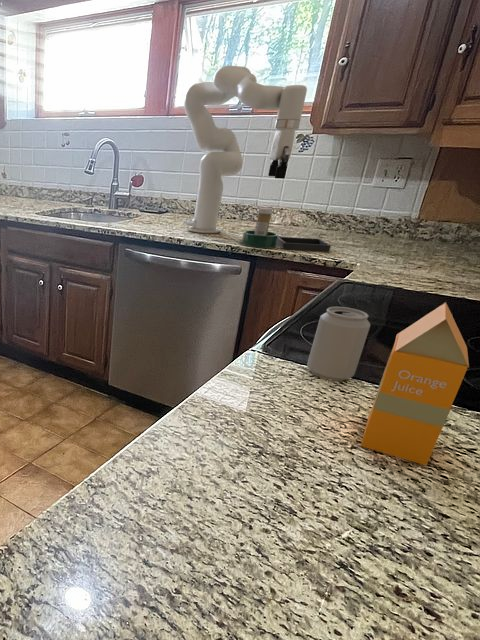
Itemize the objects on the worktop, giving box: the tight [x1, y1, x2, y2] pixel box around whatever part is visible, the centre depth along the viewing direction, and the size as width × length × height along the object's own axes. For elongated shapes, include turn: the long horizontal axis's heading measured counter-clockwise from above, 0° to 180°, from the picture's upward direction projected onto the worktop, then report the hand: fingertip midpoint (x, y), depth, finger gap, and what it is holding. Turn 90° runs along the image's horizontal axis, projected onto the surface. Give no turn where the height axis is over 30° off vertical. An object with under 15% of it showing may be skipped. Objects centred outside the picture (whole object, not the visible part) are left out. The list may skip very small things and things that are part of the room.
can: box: [306, 306, 371, 382], centre depth 93 cm, size 8×8×12 cm
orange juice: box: [360, 301, 470, 466], centre depth 71 cm, size 8×9×20 cm
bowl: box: [241, 229, 279, 249], centre depth 198 cm, size 12×12×4 cm
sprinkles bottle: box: [254, 206, 273, 236], centre depth 196 cm, size 5×5×14 cm
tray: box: [276, 236, 332, 253], centre depth 195 cm, size 15×12×2 cm
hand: (276, 177), depth 189 cm, fingers open, 9 cm apart
